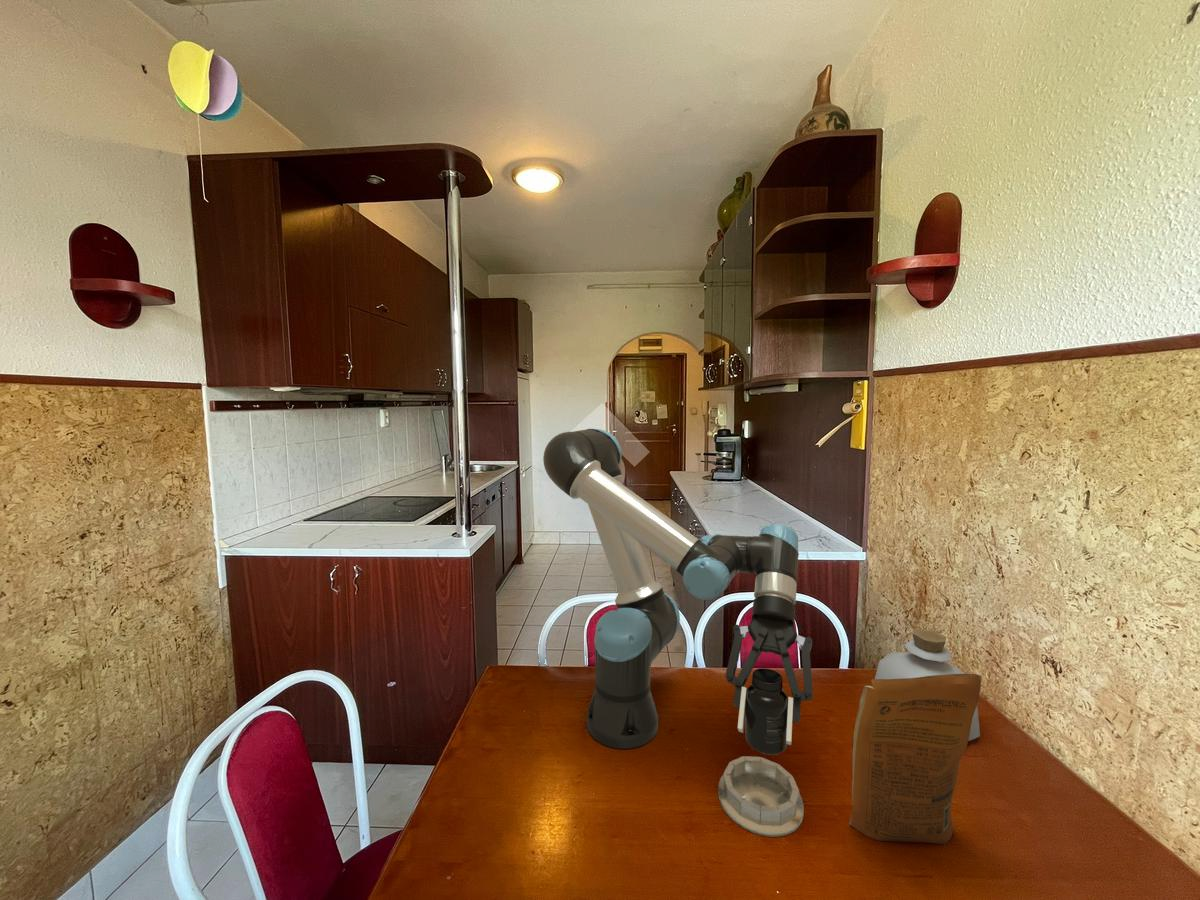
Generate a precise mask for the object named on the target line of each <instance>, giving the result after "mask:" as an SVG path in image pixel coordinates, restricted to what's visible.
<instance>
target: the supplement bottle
mask: <svg viewBox="0 0 1200 900" xmlns="http://www.w3.org/2000/svg"><path fill="white" fill-rule="evenodd" d="M751 676H752V679H751V684H750V685H749V686H748V687H747V691H746V711H745V722H744V730H745V731H744V733H745V734H744V735H745V740H746V742H747V744H748V746H750V747H751V748H752V749H753V750H754V751H756V752H758V753H761V754H763V755H768V756H776V755H780V754H781V753H783V752H784V751H786V749H787V746H788V744H786V734H787V715H788V697H789V696H788V695H787V694H786V692H785V691H784V688H783V687H784V686H783V676H782V675H781V674H780V673H779V672H778V671H776V670H774V669H771V668H766V667H765V668H764V667H763V668H757V669H754V671H752V675H751Z"/></svg>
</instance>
